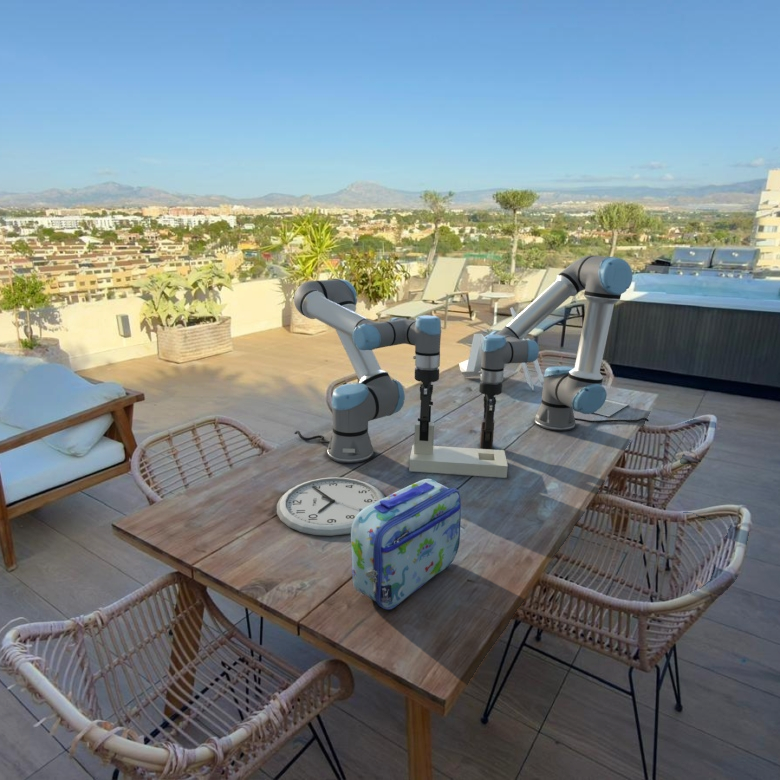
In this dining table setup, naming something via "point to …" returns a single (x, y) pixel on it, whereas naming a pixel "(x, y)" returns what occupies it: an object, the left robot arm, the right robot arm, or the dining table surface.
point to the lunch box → (405, 541)
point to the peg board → (455, 458)
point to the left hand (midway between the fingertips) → (425, 432)
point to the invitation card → (610, 408)
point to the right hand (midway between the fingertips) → (486, 445)
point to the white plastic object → (474, 361)
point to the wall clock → (326, 505)
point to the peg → (483, 434)
